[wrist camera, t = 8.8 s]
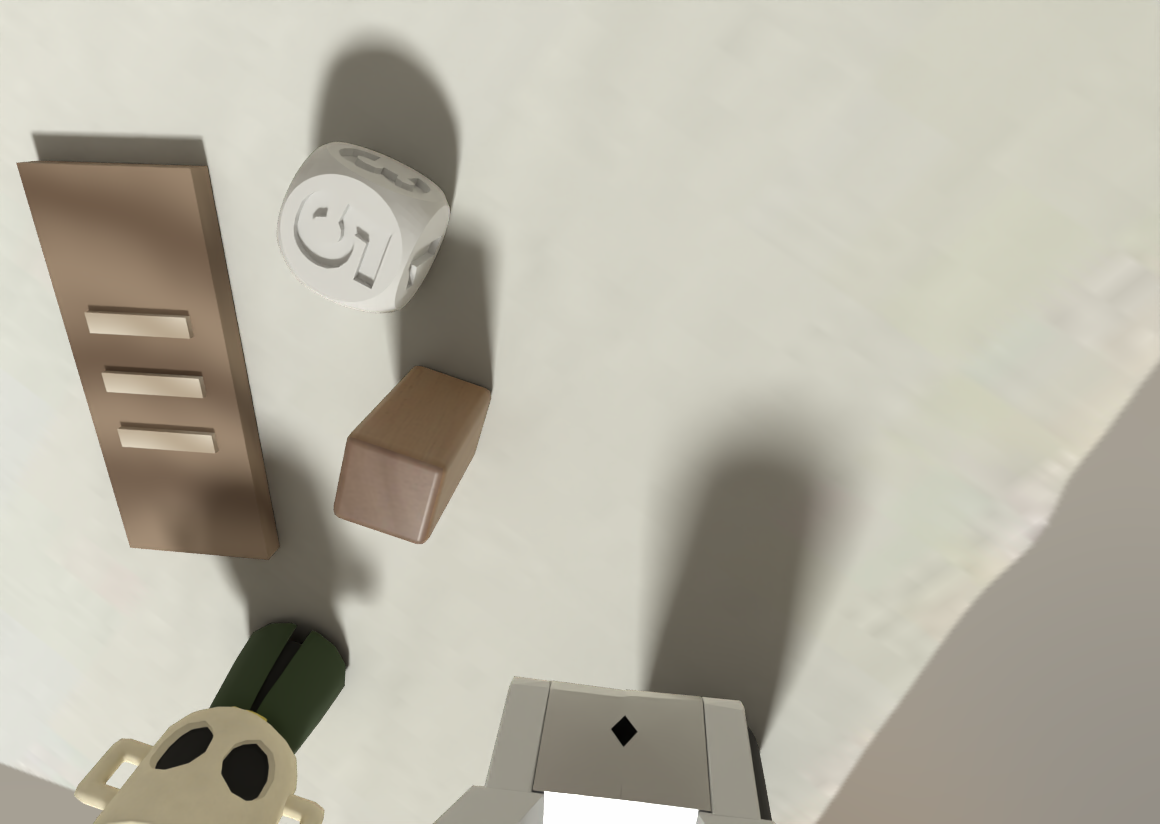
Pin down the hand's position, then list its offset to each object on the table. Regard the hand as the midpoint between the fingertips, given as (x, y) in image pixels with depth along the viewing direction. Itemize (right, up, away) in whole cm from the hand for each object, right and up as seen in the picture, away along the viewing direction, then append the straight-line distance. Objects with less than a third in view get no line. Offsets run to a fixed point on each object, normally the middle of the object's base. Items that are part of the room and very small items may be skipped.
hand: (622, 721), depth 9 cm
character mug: (-17, -11, +33) cm, 39 cm away
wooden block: (-7, +4, +25) cm, 26 cm away
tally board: (-21, +6, +26) cm, 34 cm away
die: (-9, +13, +21) cm, 26 cm away
